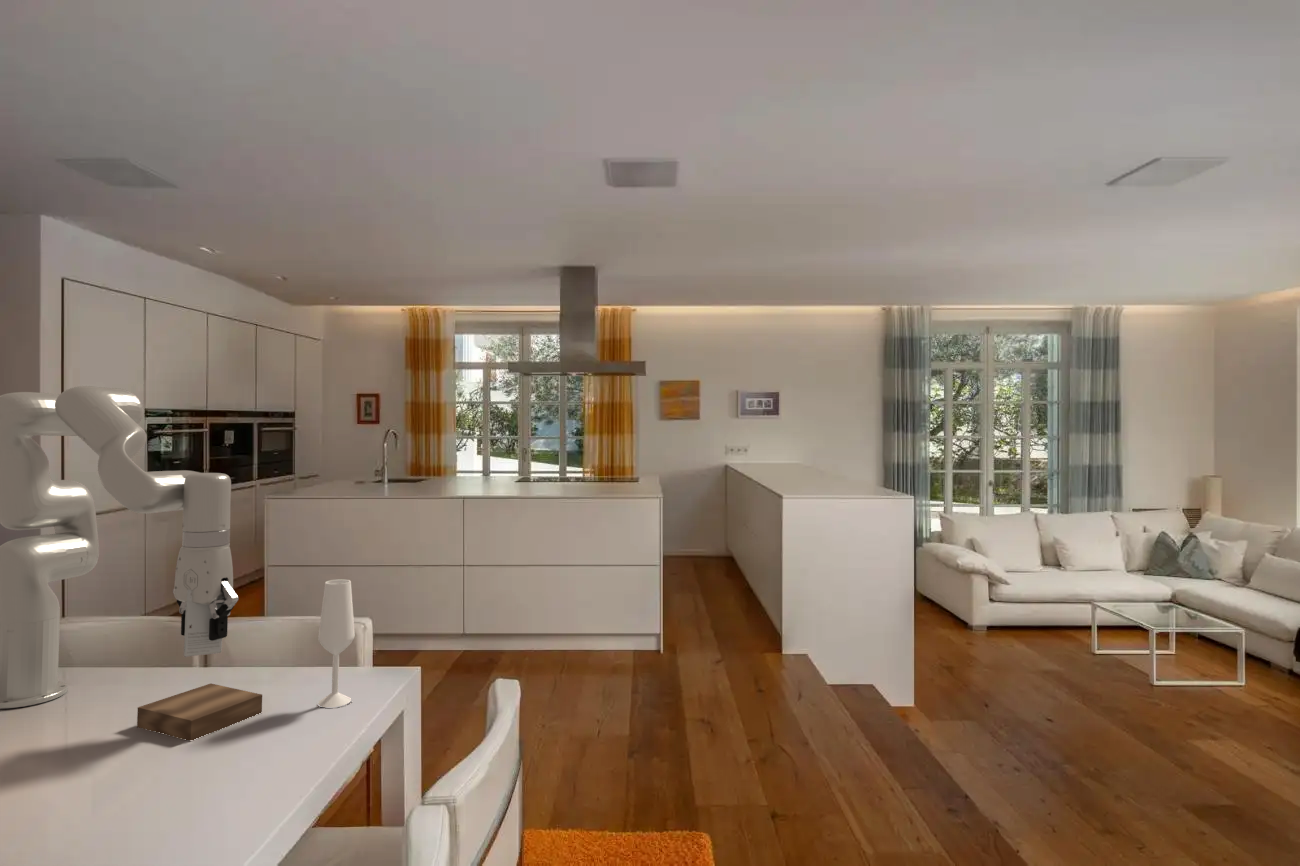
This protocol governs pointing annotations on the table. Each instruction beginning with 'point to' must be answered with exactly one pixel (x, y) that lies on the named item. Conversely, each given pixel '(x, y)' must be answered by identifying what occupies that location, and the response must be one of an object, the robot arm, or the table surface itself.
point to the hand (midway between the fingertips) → (204, 635)
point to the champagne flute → (336, 631)
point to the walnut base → (199, 711)
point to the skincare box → (199, 629)
